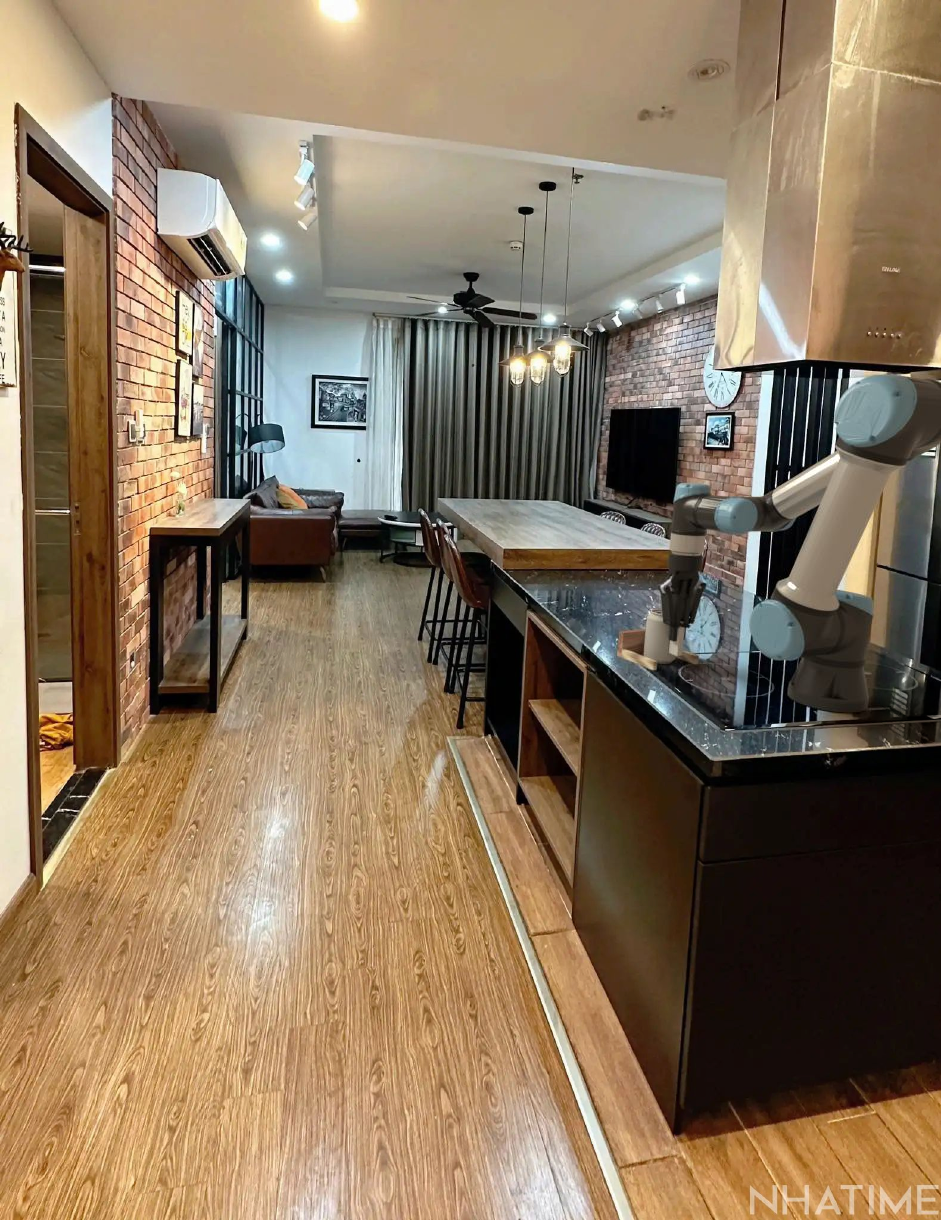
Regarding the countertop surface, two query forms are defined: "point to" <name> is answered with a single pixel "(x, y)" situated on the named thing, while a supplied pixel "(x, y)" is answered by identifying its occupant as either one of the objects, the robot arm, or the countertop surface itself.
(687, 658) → the wooden bracket
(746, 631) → the countertop surface
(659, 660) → the can
